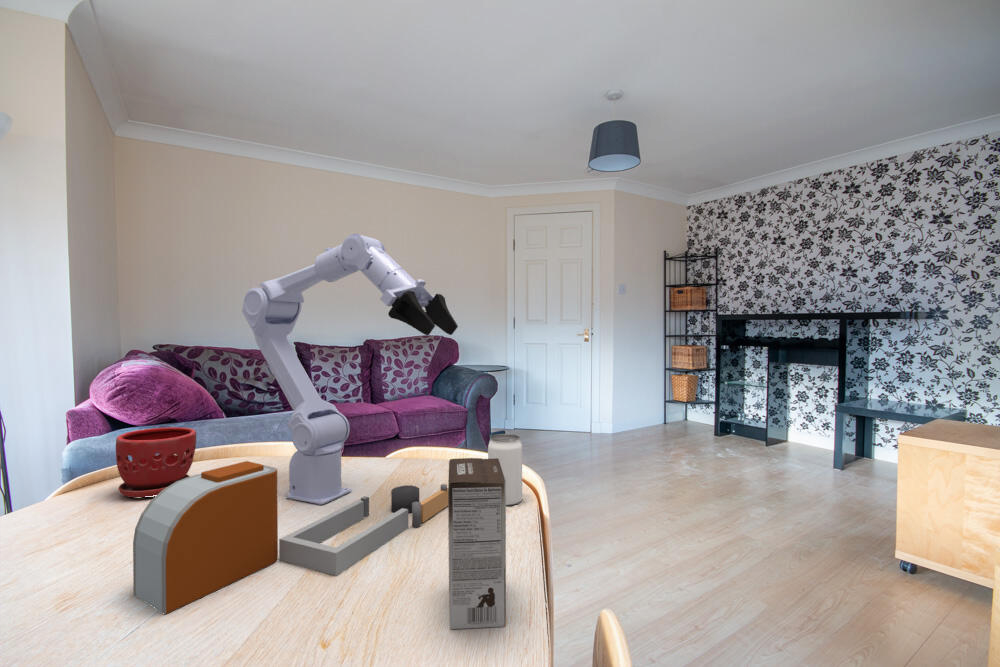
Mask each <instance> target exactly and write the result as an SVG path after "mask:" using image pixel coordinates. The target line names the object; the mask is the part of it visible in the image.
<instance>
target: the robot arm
mask: <svg viewBox="0 0 1000 667" xmlns="http://www.w3.org/2000/svg"><path fill="white" fill-rule="evenodd" d="M359 271H360V272H361V273H362V274H363V275H364V276H365V277H366V278H367V279H368V280H369V281H370V282H371V283H372V285H374V287H376V288H377V289H378V290H379V291H380V292H381V293H382V295H381V297H380V301H381V302H382V303H383V304H384V305H385V306H386V307H391V308H390V310H389V311H388V314H387V315H388V317H390V318H391V319H394V320H397V321H401V322H402V323H404V324H406V325H408V326H411V328H414V329H416V330H417V331H418V332H419V333H421V334H423V335H426V336H430V334H431V333H432V332H433V330H434V329H435V327H437V328H439V329H440V330H442V332H444V333H445V334H447V335H449V336H451V335H453V334H454V333H455V332H456V330H457V329H458V328H459V326H458V323H457V322H456V320H455V319H454V317H453V316H452V314H451V312H450V310H449V308H448V305H447V303H446V298H445V296H444V295H443V294H440V293H435V295H433V294H431V293H430V292H429V291H428V290H427V289H426V288H425V286H426V283H427V282H426V281H425V280H424V279H422V278H418V279H417V280H415V279H414V278H413V277H412V276H411V275H410V274H409V273H408V272H406V270H405V269H404V268H402V266H401V265H400V264H398V262H396V261H395V260H394V258H392V257H391V255H389V254H388V253H387V252H386V248H385V245H384V244H383V242H382V241H380V240H378V239H376V238H374V237H370V236H366V235H362V234H360V233H353V234H349V236H347V237H346V238H344V240H343V241H342V243H340V244H339V245H337V246H335V247H327V248H325V249H324V252H322V253H320V254H318V255H317V256H316V257H315V260H314V264H311V265H309V266H307V267H304V268H301V269H299V270H296V271H294V272H293V271H292V272H291V273H288V274H285V275H284V276H281V277H277V278H274V279H270V280H266V281H263V282H261V283H260V284H258V286H259V287H252V288H250V289H249V290H248V291H247V292H246V293H245V296H244V298H243V306H242V309H241V312H242V314H243V316H244V317H245V319H246V321H247V323H248V325H249V328H250V329H251V330H252V333H253V335H254V339H255V342H256V345H257V347H258V349H259V350H260V352H261V354H262V356H263V357H264V359H265V361H266V363H267V365H268V366H269V369H270V370H271V372H272V374H273V376H274V378H275V380H276V381H277V383H278V385H279V387H280V389H281V390H282V392H283V394H284V395H285V398H286V400H287V402H288V403H289V405H290V408H291V409H292V410H293V413H292V415H291V417H289V420H288V422H287V426H288V429H289V431H290V433H291V434H290V435H291V440H292V443H293V446H294V448H295V449H296V451H295V452H294V453H293V455H292V456H291V458H290V460H289V463H288V464H289V465H288V466H289V467H288V469H289V470H288V471H289V472H288V473H289V477H288V478H289V480H288V481H289V483H288V484H289V489H288V490H289V493H288V494H286V495H285V497H286V498H287V499H291V500H295V501H296V500H297V501H300V502H306V503H312V504H317V505H324V504H326V503H327V504H328V502H331V501H333V500H337V499H338V498H340V497H342V496H344V495H347V494H348V493H351V492H352V489H351V488H347V487H342V448H344V444H345V443H344V442H346V440H348V438H349V435H350V428H351V427H350V423H349V420H348V418H347V417H346V416H345V415H344V414H343V413H341V412H340V411H339V410H338V409H337V407H336V405H334V404H333V403H331V402H328V401H327V400H324V399H323V398H322V397H320V395H319V394H320V393H318V391H317V389H316V387H315V385H314V384H313V382H312V380H311V379H310V377H309V375H308V373H307V372H306V370H305V368H304V366H303V365H302V363H301V361H300V359H299V358H298V356H297V354H296V352H295V351H294V349H293V347H292V345H291V343H290V342H289V340H288V338H287V337H288V335H290V334H291V333H292V332H293V330H294V328H295V326H296V323H297V321H298V319H299V316H300V313H301V311H302V303H304V302H305V298H304V295H303V292H304V291H307V290H308V289H310V288H312V287H314V286H315V285H317V284H319V283H321V282H323V281H326V282H328V283H335V282H337V281H339V280H341V279H343V278H346V277H348V276H350V275H353V274H355V273H357V272H359ZM260 287H262V288H260Z"/></svg>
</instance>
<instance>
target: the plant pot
mask: <svg viewBox="0 0 1000 667" xmlns="http://www.w3.org/2000/svg"><path fill="white" fill-rule="evenodd" d="M196 446H197V431H196V430H195V429H193V428H189V427H177V426H175V427H172V426H171V427H169V426H168V427H156V428H145V429H138V430H133V431H129V432H125V433H121V434H120V435H118V436H117V437H116V438H115V459H116V460H115V461H116V467H117V471H118V474H119V476H120V478H121V480H122V481H123V483H120V485H119V486H118V492H119V493H120V494H121V495H122V496H124V497H126V496H127V498H130V497H145V496H153V495H158V494H159V493H160V492H161V491H162V490H163V489H165V488H167V487H168V486H170V485H171V484H173V483H175V482H176V481H179V480H182V479H184V478H187V477H190V475H189V474H188V473H189V472H190V469H191V467H192V464H193V461H194V456H195V451H196V448H197V447H196ZM129 457H131V460H130V459H129Z"/></svg>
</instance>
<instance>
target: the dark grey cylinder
mask: <svg viewBox="0 0 1000 667" xmlns="http://www.w3.org/2000/svg"><path fill="white" fill-rule="evenodd" d="M390 493H391V494H390V495H391V498H390V499H391V512H392V514H393V513H395V512H397V511H398V510H400V509H402V508H404V509H408V515H410V514H411V515H412V503H413V502H420V487H419V486H415V485H401V486H396V487H394V488H392V489H391V492H390Z"/></svg>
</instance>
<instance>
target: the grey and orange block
mask: <svg viewBox="0 0 1000 667" xmlns="http://www.w3.org/2000/svg"><path fill="white" fill-rule="evenodd" d="M189 476H190V475H189ZM278 524H279V523H278V469H277V468H276V467H273V466H269V465H265V464H261V463H256V462H253V461H248V460H245V461H241V462H238V463H233V464H230V465H226V466H222V467H219V468H213V469H209V470H206V471H202V472H200V473H199V474H194V475H191V476H190V477H187V478H184V479H182V480H179V481H176V482H175V483H173V484H171V485H170V486H168V487H167V488H165V489H163V490H162V491H161V492H160V493H159V494H158V495H157V496H156V497H152V499H151V500H150V501H149V502H148V504H147V506H145V508H144V510H143V511H142V512H141V514H140V516H139V519H138V521H137V523H136V526H135V528H134V533H133V540H132V553H133V554H132V558H133V561H132V573H133V574H132V575H133V576H132V577H133V578H132V579H133V582H132V584H133V587H132V588H133V596H134V597H135V598H137V599H139V600H141V601H142V600H143V601H142V602H144V601H145V602H147V603H148V604H147V603H146V604H147V605H149V604H150V605H152V606H153V607H155V608H156V609H155V608H154V609H155V610H157V611H158V610H159V611H158V612H159V613H161V612H162V613H161V614H163V613H164V614H163V615H168V614H170V613H171V612H174V611H176V610H179V609H180V608H182V607H184V606H187V605H188V604H191V603H193V602H195V601H197V600H199V599H201V598H203V597H205V596H208V595H210V594H212V593H215V592H216V591H218V590H221V589H222V588H223V589H224V588H225V587H226V586H229V585H231V584H233V583H235V582H238V581H239V580H243V579H244V578H247V577H249V576H250V575H252V574H255V573H256V572H259V571H261V570H263V569H265V568H267V567H270V566H271V565H273V564H275V562H277V561H278V559H279V558H278V557H279V556H278V555H279V553H278V552H279V550H278V549H279V543H278V542H279V538H278V536H279V534H278V533H279V532H278ZM145 602H144V603H145ZM150 605H149V606H150ZM152 606H151V607H152ZM153 607H152V608H153Z"/></svg>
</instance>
